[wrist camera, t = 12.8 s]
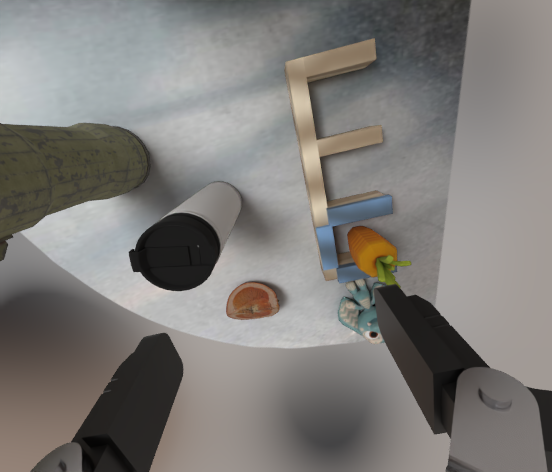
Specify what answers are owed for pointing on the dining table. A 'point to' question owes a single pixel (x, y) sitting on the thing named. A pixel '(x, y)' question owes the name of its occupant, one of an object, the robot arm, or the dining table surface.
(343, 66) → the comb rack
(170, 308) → the dining table surface
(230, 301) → the fruit slice
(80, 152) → the thermos
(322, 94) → the dining table surface
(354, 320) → the stuffed animal
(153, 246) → the travel mug
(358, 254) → the carrot
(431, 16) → the dining table surface
